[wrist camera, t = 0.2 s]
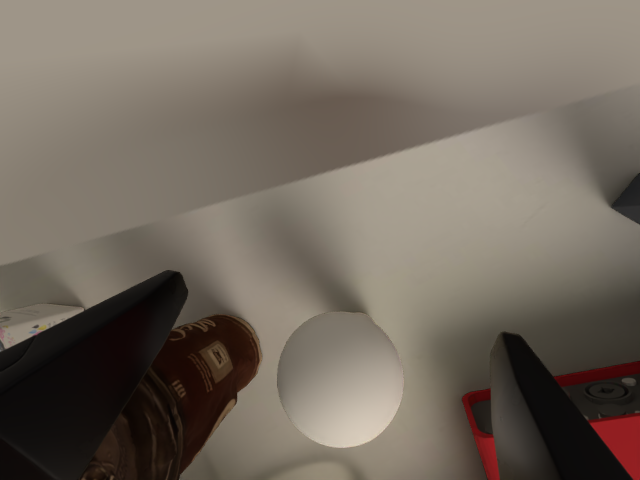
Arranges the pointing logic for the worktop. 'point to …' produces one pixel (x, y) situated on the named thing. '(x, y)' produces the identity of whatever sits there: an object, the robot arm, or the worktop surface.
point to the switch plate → (630, 201)
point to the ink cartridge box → (31, 321)
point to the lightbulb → (340, 379)
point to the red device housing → (593, 402)
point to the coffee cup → (179, 401)
